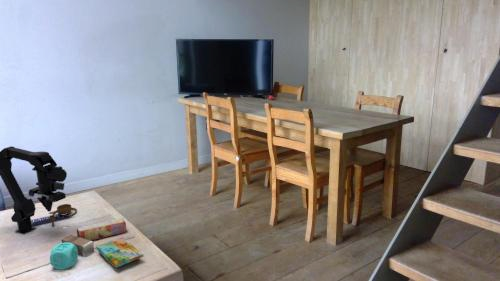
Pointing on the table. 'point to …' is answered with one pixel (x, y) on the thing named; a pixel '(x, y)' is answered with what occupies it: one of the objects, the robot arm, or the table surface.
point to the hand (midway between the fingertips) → (49, 211)
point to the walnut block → (80, 245)
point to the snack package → (102, 229)
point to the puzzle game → (119, 252)
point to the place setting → (62, 211)
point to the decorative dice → (63, 256)
